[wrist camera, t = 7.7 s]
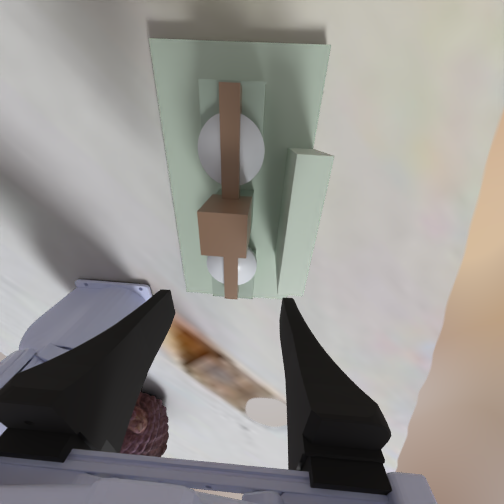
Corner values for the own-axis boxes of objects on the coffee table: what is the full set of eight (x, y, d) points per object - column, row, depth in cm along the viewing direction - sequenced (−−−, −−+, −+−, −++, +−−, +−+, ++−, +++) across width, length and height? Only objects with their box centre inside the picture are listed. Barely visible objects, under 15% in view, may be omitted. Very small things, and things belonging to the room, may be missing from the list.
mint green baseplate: (189, 286, 26) (165, 334, 20) (155, 43, 14) (75, -21, 8) (286, 294, 25) (292, 345, 19) (327, 50, 14) (372, -13, 8)
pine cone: (191, 418, 44) (172, 487, 36) (150, 420, 46) (123, 486, 37) (153, 371, 36) (117, 447, 27) (105, 375, 38) (57, 447, 29)
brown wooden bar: (210, 290, 20) (198, 322, 17) (195, 84, 12) (167, 65, 9) (254, 293, 20) (252, 326, 17) (269, 87, 12) (269, 69, 9)
